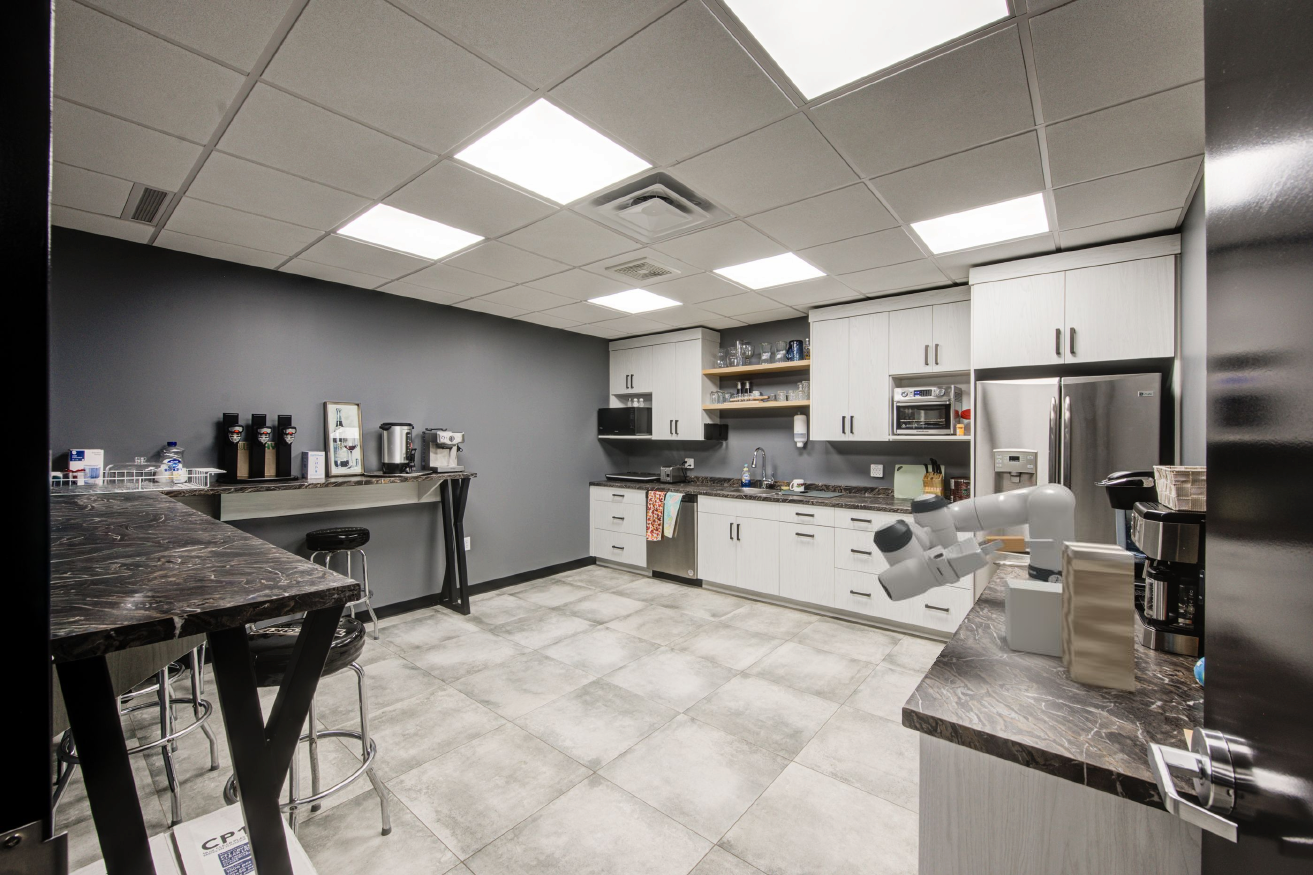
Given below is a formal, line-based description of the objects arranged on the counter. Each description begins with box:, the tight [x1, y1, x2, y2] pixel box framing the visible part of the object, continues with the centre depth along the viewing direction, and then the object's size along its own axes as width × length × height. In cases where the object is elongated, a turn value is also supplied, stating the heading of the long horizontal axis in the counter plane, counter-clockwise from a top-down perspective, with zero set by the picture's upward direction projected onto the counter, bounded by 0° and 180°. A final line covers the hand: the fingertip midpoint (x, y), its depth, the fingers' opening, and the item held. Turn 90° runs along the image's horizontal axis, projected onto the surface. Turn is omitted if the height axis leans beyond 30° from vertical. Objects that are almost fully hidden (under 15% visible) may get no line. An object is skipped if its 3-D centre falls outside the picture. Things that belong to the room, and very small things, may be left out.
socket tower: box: [1061, 541, 1136, 693], centre depth 119 cm, size 12×10×28 cm
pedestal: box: [1004, 577, 1062, 658], centre depth 135 cm, size 10×14×16 cm
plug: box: [984, 535, 1054, 553], centre depth 125 cm, size 3×13×3 cm, turn 63°
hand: (1001, 540), depth 127 cm, fingers closed on plug, 3 cm apart
